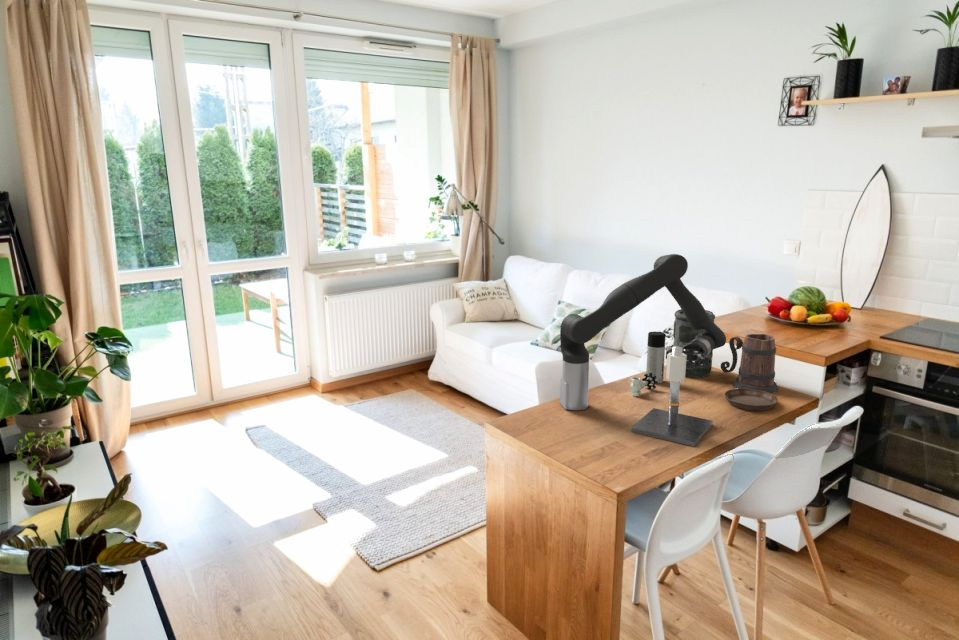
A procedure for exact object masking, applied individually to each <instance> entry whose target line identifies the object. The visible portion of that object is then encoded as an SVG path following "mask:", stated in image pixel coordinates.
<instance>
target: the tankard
mask: <svg viewBox="0 0 959 640" xmlns="http://www.w3.org/2000/svg"><path fill="white" fill-rule="evenodd" d="M735 341H736V342H735ZM728 344H729V348H730V352H731V354H732V363H731V364H730V362H729V361H727V360H726V361H722V362H721V363H720V370H721V371H722V372H723V373H725V374H728V373H731V372H733V371H735V369H736V366H737V364H738V351H737V350H740V349H741V356H740V364H739V367H738V377H736V378H734V379H735V380H733V382H732V383H731V384H732V386H733V387H734V389H737V388H738V389H754V390H760V391H765V392H768V393H770V394H775V393H777V391H778V390H779V391H780V387H779V386H778V385H777V382H775V378H776V371H775V364H776V353H777V347H776V341H775V337H774V336H772V335H770V334H767V333H749V334H746V335H745V337H744V341H743V340H742V339H741V337H739V336H734V337H733V336H732V337H731V338H730V339H729V343H728ZM735 344H736V345H735ZM730 365H731V366H730ZM778 387H779V388H778ZM779 391H778V392H779ZM774 392H775V393H774Z"/></svg>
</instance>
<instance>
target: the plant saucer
mask: <svg viewBox="0 0 959 640" xmlns="http://www.w3.org/2000/svg"><path fill="white" fill-rule="evenodd" d="M723 395H724V397H725V399H726V400H727V402H728V403H729V404H730V405H732V406H734V407H735V408H739V409H742V410H747V411H758V412H759V411H766V410H770V409H772V408H773V407H774V406H775V405H776V404H777V403H778V401H779V399H778V397H777V396H776V395H775V394H774V393H768V392H765V391H760V390H754V389H737V388H732V389H728V390H726V391H725V392H724V394H723Z"/></svg>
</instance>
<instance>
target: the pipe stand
mask: <svg viewBox="0 0 959 640" xmlns="http://www.w3.org/2000/svg"><path fill="white" fill-rule="evenodd" d="M672 346H673V347H672V348H671V349H672V356H677V357H678V356H682V347H681V346H674V345H672ZM669 381H670V380H669ZM680 388H681V381H679V382H675V381H670V382H669V397H668V399H669V400H668V410H665V409H664V410H663V409H660V408H655V407H654V408H653V407H652V409H651V410H650V411H648V412H647V413H646V414H645V415H644V416H643V417H641V418H640V419H639V420H638V421H637V422H636V423H634V424H633V425H632V426H631V430H630V432H632V433H636V434H639V435H644V436H647V437H652V438H656V439H661V440H664V441H668V442H669V441H670V442H673V443H678V444H681V445H686V446H690V447H695V446H696V445H697V444H698V443H699V441H701V439H702V438H703V437H704V436H705V434H707V432H708V431H709V430H710V429H711V427H712V426H714V425H713V423H714V420H711V419H706V418H703V417H702V418H701V417H698V416H697V417H696V416H693V415H688V414H684V413H679V407H680V390H681V389H680Z"/></svg>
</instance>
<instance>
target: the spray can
mask: <svg viewBox="0 0 959 640" xmlns="http://www.w3.org/2000/svg"><path fill="white" fill-rule="evenodd" d="M646 345H647V347H646V348H647V350H646V353H647V354H646V372H645V374H648V376H649V373H652V376H656V377H657V378H656V379H655V381H657V382H658V384H659V383H660V384H662V383H663V382H664V374H665V373H664V369H665V356H666V333H665V332H662V331H649V332H648V333H647V344H646ZM647 379H651V380H653V379H652V378H651V377H648V378H647ZM651 384H653V381H652V383H651ZM658 384H657V385H658Z"/></svg>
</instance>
